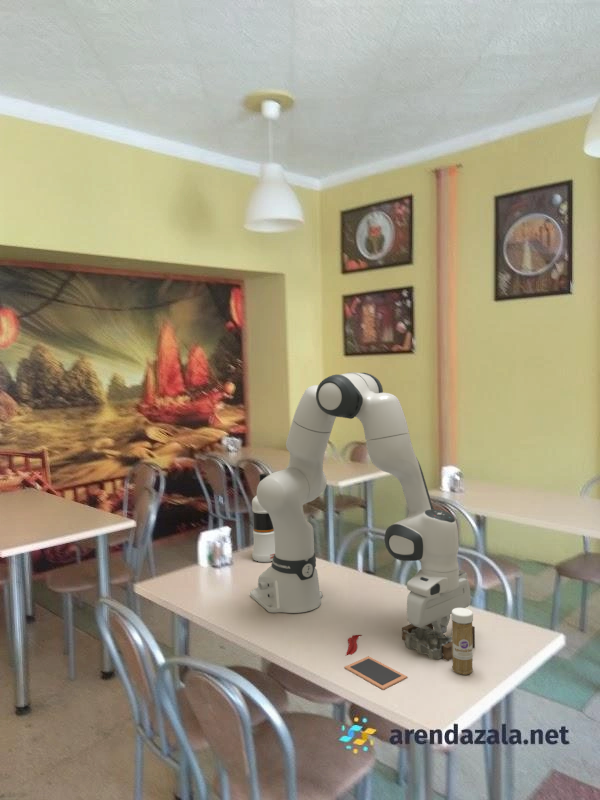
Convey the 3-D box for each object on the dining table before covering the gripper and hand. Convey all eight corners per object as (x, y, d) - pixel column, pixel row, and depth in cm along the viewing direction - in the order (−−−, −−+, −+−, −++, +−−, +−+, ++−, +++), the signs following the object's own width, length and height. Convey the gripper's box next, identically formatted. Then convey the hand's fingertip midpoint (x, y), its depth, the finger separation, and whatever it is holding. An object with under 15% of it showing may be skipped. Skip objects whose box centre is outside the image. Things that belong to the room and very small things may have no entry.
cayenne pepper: (355, 634, 154) (355, 627, 154) (372, 638, 152) (372, 631, 152) (331, 654, 144) (331, 646, 144) (349, 659, 142) (348, 651, 142)
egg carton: (400, 645, 147) (400, 629, 147) (421, 636, 152) (421, 620, 151) (434, 662, 139) (434, 644, 138) (456, 652, 143) (456, 635, 143)
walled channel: (402, 639, 150) (401, 619, 150) (428, 627, 156) (428, 608, 156) (447, 660, 139) (447, 639, 139) (474, 647, 145) (474, 626, 145)
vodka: (252, 555, 218) (250, 471, 216) (278, 553, 219) (276, 471, 217) (252, 563, 209) (249, 477, 207) (279, 562, 209) (276, 476, 207)
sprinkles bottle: (457, 676, 132) (457, 616, 131) (448, 666, 137) (447, 607, 136) (477, 674, 133) (476, 614, 132) (467, 663, 138) (467, 605, 137)
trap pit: (344, 668, 137) (344, 666, 137) (368, 657, 142) (368, 655, 142) (383, 690, 128) (383, 688, 128) (407, 677, 132) (407, 676, 132)
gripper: (455, 564, 156) (456, 617, 157) (401, 584, 144) (402, 641, 145) (476, 571, 152) (477, 625, 152) (422, 592, 139) (423, 651, 140)
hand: (440, 633), depth 148 cm, fingers closed
